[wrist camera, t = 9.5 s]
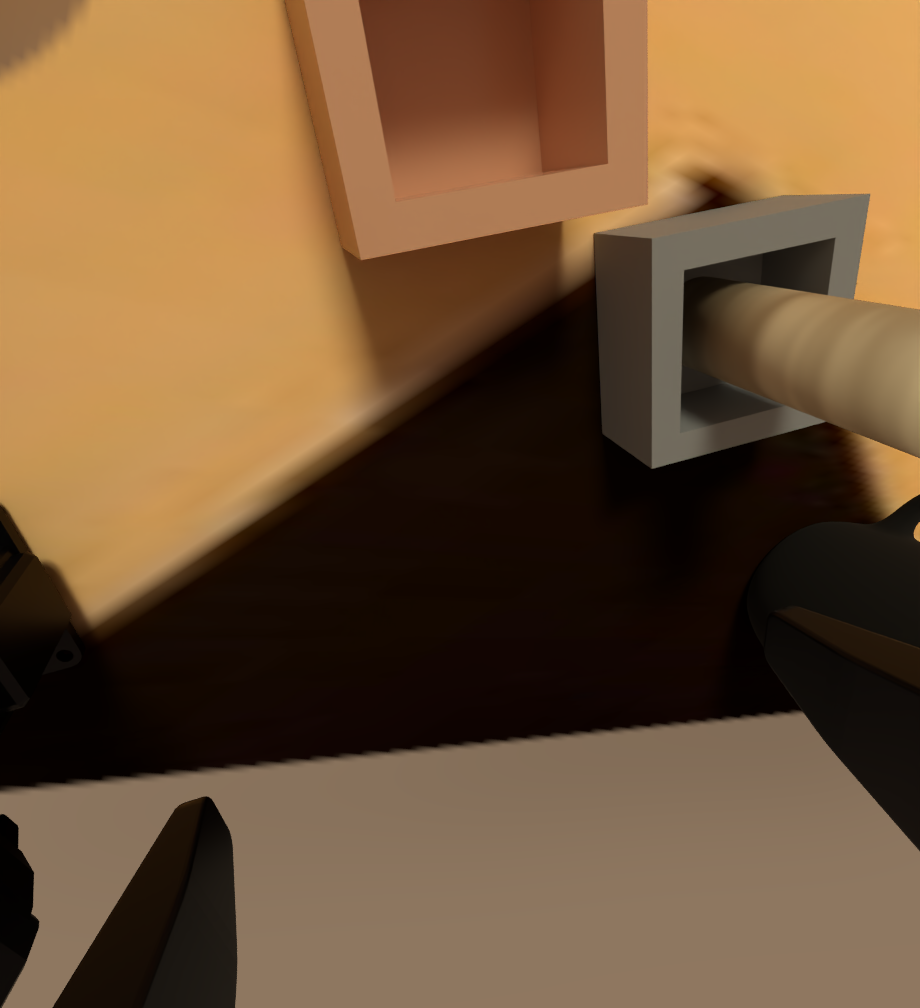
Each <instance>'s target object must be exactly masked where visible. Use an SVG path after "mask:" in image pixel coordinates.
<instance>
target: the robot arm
mask: <svg viewBox="0 0 920 1008" xmlns="http://www.w3.org/2000/svg"><path fill="white" fill-rule="evenodd" d="M70 619H71V613H70V611H69V609H68V608H67V606H66V604H65V603H64V601H63V599H62V598H61V596H60V594H59V593H58V591H57V589H56V588H55V586H54V584H53V583H52V581H51V579H50V578H49V576H48V574H47V573H46V571H45V569H44V568H43V566H42V564H41V562H40V561H39V559H38V557H37V556H35V555H33V554H32V553H30V552H28V551H27V549H26V547H25V546H24V544H23V542H22V541H21V539H20V537H19V536H18V534H17V532H16V531H15V529H14V527H13V526H12V524H11V522H10V521H9V519H8V517H7V516H6V514H5V512H4V511H3V509H2V507H1V506H0V735H1V733H2V731H3V729H4V727H5V726H6V724H7V722H8V720H9V718H10V716H11V714H12V712H13V710H16V709H19V708H22V707H24V706H25V705H26V704H27V703H28V701H29V699H30V697H31V695H32V693H33V691H34V690H35V688H36V686H37V684H38V682H39V680H40V678H41V676H42V675H44V674H48V673H51V672H55V671H58V670H62V669H65V668H69V667H72V666H74V665H77V664H78V663H79V662H80V661H81V659H82V656H83V654H84V651H85V646H84V644H83V642H82V640H81V639H80V637H79V635H78V634H77V632H76V630H75V629H74V627H73V625H72V624H71V622H70ZM61 650H68V651H71V652H72V653H73V654H65V653H63V652H62V651H61ZM764 655H765V658H766V660H767V662H768V664H769V665H770V667H771V668H772V669H773V671H774V672H775V674H776V675H777V676H778V678H779V679H780V681H781V682H782V683H783V685H784V686H785V687H786V689H787V690H788V692H789V693H790V694H791V696H792V697H793V699H794V700H795V701H796V703H797V704H798V706H799V707H800V708H801V710H802V711H803V712H804V714H805V715H806V717H807V718H808V719H809V720H810V722H811V724H812V725H813V726H814V728H815V729H816V731H817V732H818V733H819V734H820V736H821V737H822V738H823V740H824V741H825V742H826V744H827V745H828V746H829V747H830V748H831V749H832V751H833V752H834V753H835V754H836V756H837V757H838V758H839V759H840V760H841V761H842V762H843V764H844V765H845V766H846V767H847V768H848V769H849V771H850V772H851V773H852V774H853V775H854V776H855V777H856V779H857V780H858V781H859V782H860V783H861V784H862V785H863V787H864V788H865V789H866V790H867V791H868V792H869V793H870V795H871V796H872V797H873V798H874V799H875V800H876V801H877V802H878V804H879V805H880V806H881V807H882V808H883V810H884V811H885V812H886V813H887V814H888V815H889V816H890V817H891V819H892V820H893V821H894V822H895V823H896V824H897V825H898V827H899V828H900V829H901V830H902V831H903V832H904V834H905V835H906V836H907V837H908V838H909V839H910V841H911V842H912V843H913V844H914V845H915V846H916V847H917V849H918V850H919V851H920V648H918V647H915V646H912V645H909V644H906V643H903V642H900V641H897V640H894V639H891V638H888V637H886V636H883V635H880V634H877V633H874V632H871V631H868V630H865V629H862V628H859V627H856V626H853V625H851V624H848V623H845V622H842V621H839V620H836V619H833V618H830V617H827V616H824V615H821V614H818V613H816V612H813V611H810V610H807V609H804V608H801V607H798V606H788V607H785V608H782V609H778V610H775V611H773V612H771V613H770V614H769V615H768V618H767V624H766V632H765V640H764ZM33 885H34V872H33V870H32V868H31V867H30V865H29V863H28V862H27V860H26V858H25V856H24V855H23V853H22V851H20V850H19V849H18V825H16V824H15V823H14V822H13V821H12V820H11V819H9V818H8V817H7V816H6V815H4V814H1V815H0V1008H2V1006H3V1004H4V1003H5V1000H6V999H7V997H8V995H9V993H10V992H11V990H12V988H13V986H14V984H15V982H16V981H17V979H18V977H19V975H20V974H21V972H22V970H23V968H24V966H25V963H26V961H27V958H28V955H29V953H30V950H31V947H32V944H33V942H34V939H35V936H36V933H37V931H38V928H39V921H38V919H37V918H36V917H35V916H34V915H32V914H31V912H32V908H33ZM235 913H236V912H235V891H234V866H233V845H232V839H231V835H230V831H229V829H228V827H227V826H226V824H225V822H224V820H223V818H222V816H221V815H220V813H219V811H218V809H217V807H216V806H215V804H214V802H213V801H212V799H211V798H209V797H201V798H198V799H195V800H191V801H188V802H185V803H183V804H181V805H179V806H178V807H177V808H176V809H175V810H174V812H173V814H172V815H171V816H170V818H169V820H168V821H167V823H166V825H165V826H164V828H163V829H162V831H161V833H160V834H159V836H158V838H157V839H156V841H155V842H154V844H153V846H152V847H151V849H150V851H149V852H148V854H147V855H146V857H145V859H144V860H143V862H142V864H141V865H140V867H139V868H138V870H137V872H136V873H135V875H134V877H133V878H132V880H131V882H130V883H129V885H128V886H127V888H126V890H125V891H124V893H123V894H122V896H121V898H120V899H119V901H118V903H117V904H116V906H115V907H114V909H113V910H112V912H111V914H110V915H109V917H108V919H107V920H106V922H105V924H104V925H103V927H102V928H101V930H100V932H99V933H98V935H97V936H96V938H95V940H94V941H93V943H92V945H91V946H90V948H89V949H88V951H87V953H86V954H85V956H84V958H83V959H82V961H81V962H80V964H79V966H78V967H77V969H76V970H75V972H74V974H73V975H72V977H71V979H70V980H69V982H68V983H67V985H66V987H65V988H64V990H63V992H62V993H61V995H60V997H59V998H58V1000H57V1001H56V1003H55V1004H54V1007H53V1008H235V999H236V983H237V982H236V981H237V937H236V914H235Z"/></svg>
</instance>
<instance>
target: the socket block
mask: <svg viewBox="0 0 920 1008" xmlns="http://www.w3.org/2000/svg"><path fill="white" fill-rule="evenodd" d="M869 199H870V194H834V195H783V196H778V197H773V198H768V199H763V200H758V201H753V202H748V203H743V204H738V205H733V206H728V207H723V208H718V209H713V210H708V211H703V212H698V213H693V214H688V215H683V216H678V217H673V218H668V219H663V220H658V221H653V222H648V223H643V224H638V225H633V226H628V227H623V228H618V229H613V230H608V231H603V232H598V233H594V248H595V271H596V295H597V319H598V343H599V366H600V390H601V414H602V434H604V435H605V436H606V437H608V438H609V439H611V440H612V441H613V442H615V443H616V444H618V445H619V446H621V447H622V448H623V449H625V450H626V451H628V452H629V453H630V454H632V455H633V456H635V457H636V458H637V459H639V460H640V461H642V462H643V463H644V464H646V465H647V466H649V467H650V468H651V469H653V468H657V467H660V466H664V465H668V464H672V463H675V462H679V461H683V460H686V459H690V458H694V457H697V456H701V455H705V454H708V453H712V452H716V451H719V450H723V449H727V448H730V447H734V446H738V445H741V444H745V443H749V442H752V441H756V440H760V439H763V438H767V437H771V436H775V435H778V434H782V433H786V432H789V431H793V430H797V429H800V428H804V427H808V426H811V425H815V424H819V423H822V422H826V421H824V420H821V419H819V418H816V417H814V416H811V415H809V414H806V413H803V412H801V411H798V410H796V409H793V408H791V407H788V406H786V405H783V404H780V403H778V402H775V401H773V400H770V399H768V398H765V397H763V396H760V395H757V394H755V393H752V392H750V391H747V390H745V389H742V388H740V387H737V386H735V385H732V384H729V383H727V382H724V381H722V380H719V379H717V378H714V377H712V376H709V375H706V374H704V373H701V372H699V371H696V370H694V369H691V368H689V367H686V366H683V365H682V331H683V291H684V282H686V281H688V280H690V279H692V278H696V277H701V276H708V277H715V278H721V279H727V280H734V281H740V282H747V283H753V284H759V285H766V286H772V287H778V288H785V289H791V290H797V291H804V292H810V293H817V294H823V295H829V296H836V297H842V298H848V299H854V294H855V288H856V281H857V275H858V269H859V262H860V256H861V250H862V243H863V237H864V231H865V224H866V218H867V212H868V205H869Z"/></svg>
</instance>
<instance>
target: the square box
mask: <svg viewBox="0 0 920 1008" xmlns="http://www.w3.org/2000/svg"><path fill="white" fill-rule="evenodd" d="M285 4H286V9H287V13H288V17H289V22H290V26H291V30H292V35H293V39H294V43H295V48H296V52H297V56H298V61H299V65H300V69H301V74H302V78H303V82H304V86H305V91H306V95H307V99H308V104H309V108H310V112H311V117H312V121H313V125H314V130H315V134H316V138H317V143H318V147H319V151H320V156H321V160H322V164H323V169H324V173H325V177H326V182H327V186H328V190H329V195H330V199H331V203H332V208H333V212H334V216H335V221H336V225H337V229H338V234H339V238H340V242H341V247H343V248H344V249H346V250H347V251H348V252H350V253H351V254H353V255H354V256H356V257H357V258H358V259H360V260H365V259H370V258H375V257H380V256H386V255H391V254H396V253H401V252H406V251H411V250H416V249H421V248H427V247H432V246H437V245H442V244H447V243H452V242H457V241H462V240H468V239H473V238H478V237H483V236H488V235H493V234H498V233H503V232H509V231H514V230H519V229H524V228H529V227H534V226H539V225H545V224H550V223H555V222H560V221H565V220H570V219H575V218H580V217H586V216H591V215H596V214H601V213H606V212H611V211H616V210H621V209H627V208H632V207H637V206H642V205H647V204H648V76H647V0H285Z"/></svg>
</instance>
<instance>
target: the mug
mask: <svg viewBox="0 0 920 1008" xmlns="http://www.w3.org/2000/svg"><path fill="white" fill-rule="evenodd" d="M919 522H920V495H918V496H916V497H914V498H913V499H911V500H910V501H908V502H907V503H905V504H904V505H903V506H901V507H900V508H899V509H897V510H896V511H895V512H894V513H892V514H891V515H890V516H888V517H887V518H885V519H883V520H881V521H879V522H877V523H873V524H858V523H849V522H823V523H817V524H814V525H810V526H808V527H805V528H802V529H800V530H798V531H796V532H794V533H793V534H791V535H789V536H788V537H786V538H785V539H784V540H782V541H781V542H780V543H779V544H778V545H776V546H775V547H774V548H773V549H772V550H771V551H770V552H769V553H768V555H767V556H766V557H765V558H764V559H763V561H762V562H761V564H760V565H759V567H758V568H757V570H756V572H755V574H754V576H753V578H752V580H751V583H750V586H749V590H748V595H747V610H748V615H749V619H750V622H751V624H752V627H753V629H754V632H755V634H756V636H757V637H758V639H759V641H760V643H761V644H762V646H763V647H764V640H765V632H766V624H767V618H768V615H769V614H770V613H771V612H773V611H775V610H778V609H782V608H785V607H788V606H798V607H801V608H804V609H807V610H810V611H813V612H816V613H818V614H821V615H824V616H827V617H830V618H833V619H836V620H839V621H842V622H845V623H848V624H851V625H853V626H856V627H859V628H862V629H865V630H868V631H871V632H874V633H877V634H880V635H883V636H886V637H888V638H891V639H894V640H897V641H900V642H903V643H906V644H909V645H912V646H915V647H918V648H920V542H919V541H917V540H916V539H915V538H914V534H913V533H914V529H915V527H916V525H917V524H918V523H919Z"/></svg>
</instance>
